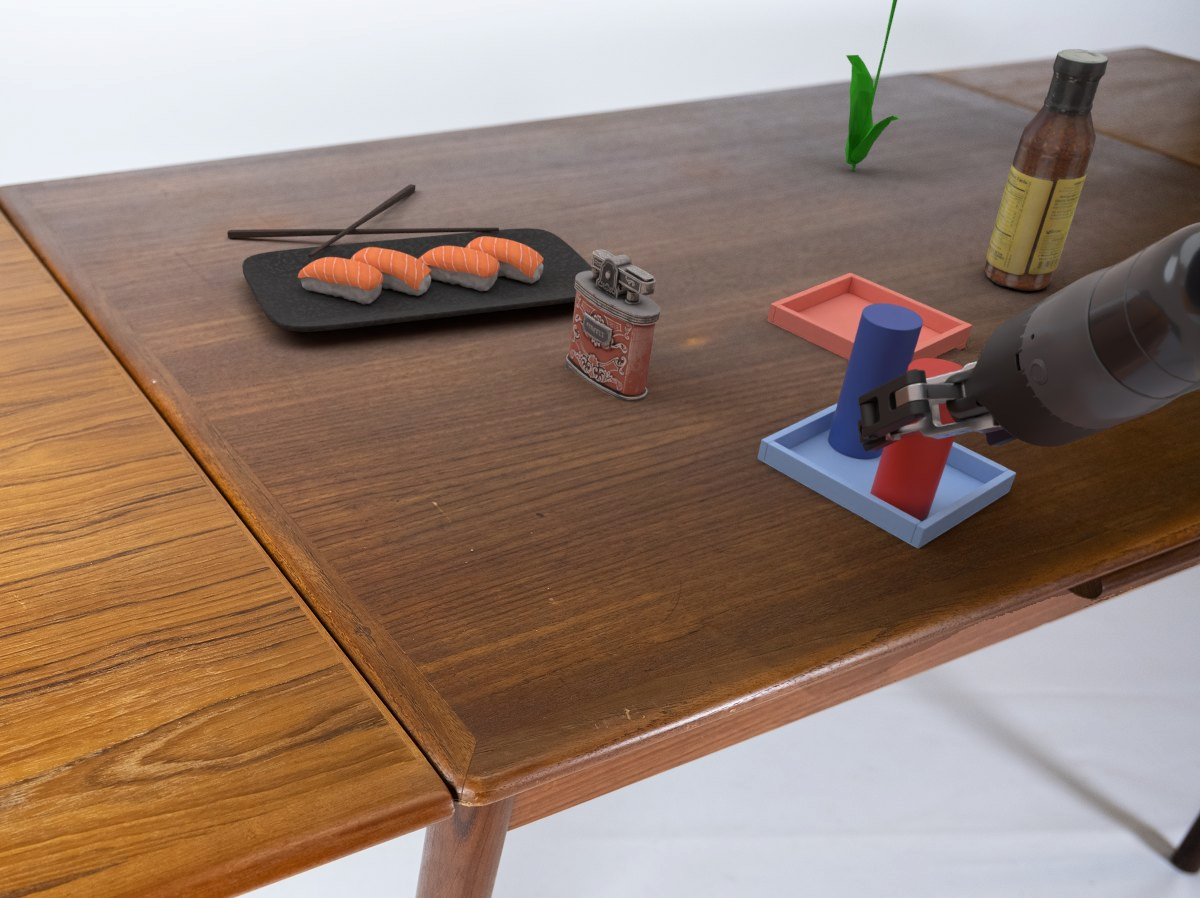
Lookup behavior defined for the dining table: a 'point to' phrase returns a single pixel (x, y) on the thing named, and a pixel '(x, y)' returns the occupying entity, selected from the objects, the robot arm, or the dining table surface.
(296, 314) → the sushi plate
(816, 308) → the red tray
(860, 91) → the flower
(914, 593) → the dining table surface
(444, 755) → the dining table surface
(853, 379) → the blue peg
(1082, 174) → the sauce bottle
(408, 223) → the dining table surface
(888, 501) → the red peg
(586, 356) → the lighter
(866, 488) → the blue tray
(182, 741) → the dining table surface
